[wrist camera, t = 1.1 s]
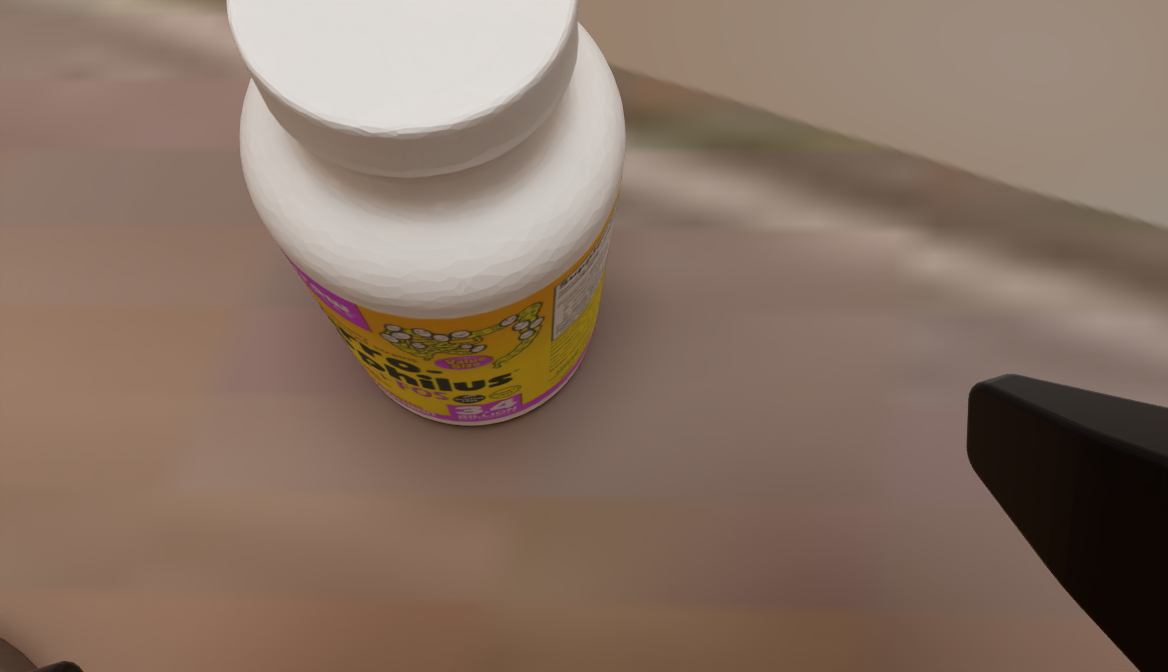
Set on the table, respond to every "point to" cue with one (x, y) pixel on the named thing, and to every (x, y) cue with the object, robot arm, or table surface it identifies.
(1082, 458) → the robot arm
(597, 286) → the supplement bottle
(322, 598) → the table surface
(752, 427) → the table surface
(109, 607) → the table surface
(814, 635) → the table surface
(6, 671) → the puck
